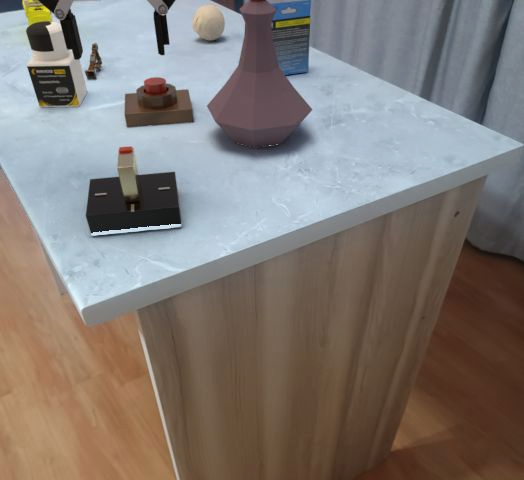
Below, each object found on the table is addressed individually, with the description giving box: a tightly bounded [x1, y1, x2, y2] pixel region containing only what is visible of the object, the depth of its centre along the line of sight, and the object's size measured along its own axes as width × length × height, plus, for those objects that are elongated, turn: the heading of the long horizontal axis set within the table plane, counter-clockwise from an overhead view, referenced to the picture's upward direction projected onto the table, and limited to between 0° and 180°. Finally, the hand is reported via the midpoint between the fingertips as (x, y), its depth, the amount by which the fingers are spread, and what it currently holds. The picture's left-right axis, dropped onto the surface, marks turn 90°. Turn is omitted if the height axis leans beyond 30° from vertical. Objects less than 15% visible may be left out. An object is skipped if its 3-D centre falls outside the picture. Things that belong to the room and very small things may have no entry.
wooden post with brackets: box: [84, 42, 103, 80], centre depth 102 cm, size 2×8×4 cm, turn 179°
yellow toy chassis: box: [21, 0, 54, 27], centre depth 119 cm, size 16×6×8 cm, turn 19°
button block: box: [124, 83, 195, 128], centre depth 87 cm, size 11×9×4 cm
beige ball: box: [191, 4, 226, 41], centre depth 115 cm, size 7×7×7 cm
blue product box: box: [270, 0, 312, 76], centre depth 98 cm, size 9×4×12 cm, turn 110°
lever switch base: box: [85, 171, 182, 234], centre depth 65 cm, size 11×9×3 cm
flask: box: [206, 0, 313, 149], centre depth 75 cm, size 16×16×20 cm
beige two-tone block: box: [116, 146, 140, 203], centre depth 63 cm, size 5×2×5 cm, turn 9°
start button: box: [143, 76, 167, 95], centre depth 85 cm, size 4×4×2 cm
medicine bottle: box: [25, 20, 88, 109], centre depth 89 cm, size 7×7×12 cm
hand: (120, 53), depth 61 cm, fingers open, 9 cm apart
